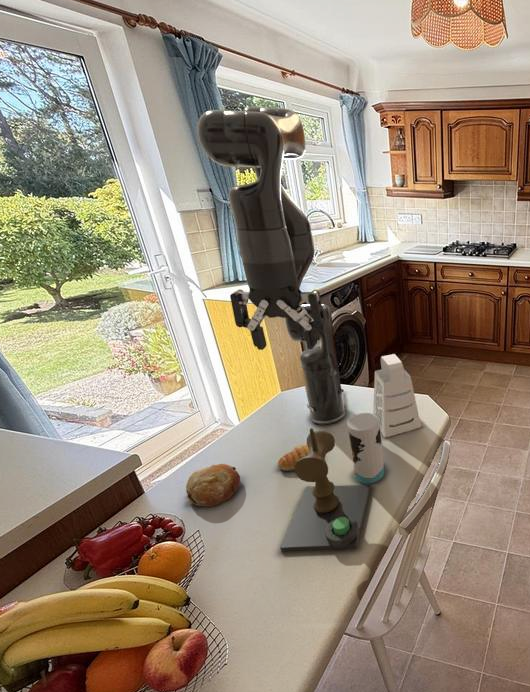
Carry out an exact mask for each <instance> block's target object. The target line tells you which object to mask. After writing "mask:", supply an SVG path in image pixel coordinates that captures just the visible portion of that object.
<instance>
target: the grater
mask: <svg viewBox="0 0 530 692" xmlns="http://www.w3.org/2000/svg"><path fill="white" fill-rule="evenodd" d="M380 367H381V369H377V370H375V371H374V383H373V408H372V414H374V415H376V416H377V417H378V418H379V425H380V433H381V434H382V436H383V437H384V438H388V437H391V436H395V435H398V434H402V433H405V432H409V431H412V430H415V429H419V428H421V427H422V424H421V419H420V414H419V411H418V405H417V400H416V396H415V391H414V385H413V381H412V376H411V375H410V374H409V373H408V372H407V371H406V370H405V368H404V365H403V362H402V360H401V359H400V358H399V357H398V356H397V355H396V353H392V354H388V355H382V356H380ZM409 421H410V422H409ZM405 422H407V423H405ZM402 423H404V424H402ZM395 425H397V426H395ZM392 426H394V427H392Z"/></svg>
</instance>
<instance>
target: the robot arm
mask: <svg viewBox="0 0 530 692" xmlns="http://www.w3.org/2000/svg"><path fill="white" fill-rule="evenodd" d="M196 132H197V138H198V142H199V145H200V147H201V148H202V150H203V151H204V153H205V154H206V155H207V156H208V158H209V159H210V160H211V161H212V162H214V163H215V164H218V165H219V166H222V167H230V168H253V170H254V173H255V178H256V181H254V182H250V183H246V184H245V183H244V184H240V185H236V186H233V187H231V188H230V189H229V191H228V199H229V205H230V208H231V213H232V217H233V222H234V225H235V230H236V237H237V239H236V240H237V245H238V250H239V251H238V252H239V256H240V258H241V262H242V266H243V271H244V275H245V279H246V282H247V287H248V288H249V291H245V290H243V289H237V290H235V291H233V292H232V293H231V294H230V297H229V298H230V303H231V308H232V312H233V313H232V314H233V317H234V324H235V326H236V327H237V328H246V329H247V330H248V331H249V332H250V336H251V341H252V342H253V346H254V347H256V348H257V350H258V351H263V350H264V349H265V348H266V347H267V339H266V335H265V331H264V327H263V326H261V324H262V322H263V321H264V319H265V318H266V317H268V318H269V319H270V318H271V319H274V318H283V319H284V323H285V329H286V332H287V334H288V337H289V338H290V339H291V341H293V342H305V344H306V348H307V349H305V350H303V351H302V352H301V353H300V354H299V362H300V363H299V364H300V368H301V374H302V378H303V379H302V380H303V384H304V388H305V393H306V398H307V403H308V404H306V407H307V409H308V410H309V414H310V416H309V417H310V420H311V422H312V423H314V424H316V425H331V424H335V423H338V422H339V421H341V420H342V419H343V418H345V416H346V409H345V405H344V404H345V403H344V397H343V393H344V392H345V390H344V389H342V384H341V379H340V378H341V377H340V371H339V363H338V358H337V351H336V344H335V336H334V335H335V334H334V325H333V316H332V312H331V309H330V307H329V306H328V305H327V304H323V303H322V298H321V294H320V290H318V289H313V290H312V291H302V290H301V289H300V288H301V285H302V282H303V280H304V278H305V276H306V274H307V272H308V270H309V268H310V266H311V264H312V262H313V259H314V257H315V244H314V237H313V233H312V226H311V222H310V220H309V219H308V218H307V216H306V214H305V213H304V212H303V210H302V209H301V208H300V207H299V206H298V205H297V203H296V202H295V201H294V200H293V198H292V197H291V196H290V195H289V194H288V193H287V191H286V190H285V188H284V186H283V185H282V184H281V183H282V182H281V179H282V168H283V160H297V159H300V158H303V156H304V154H305V152H306V136H305V129H304V125H303V122H302V120H301V118H300V116H299V115H298V114H297V113H296V112H295V111H293V110H291V109H288V108H283V107H264V106H247V107H244V109H243V110H225V109H209V110H206V111H205V112H203V113H202V114H201V115H200V117H199V119H198V122H197V127H196ZM303 300H304V302H305V303H306V304H301V303H302V301H303ZM249 301H250V303H252V304H253V305H254V306H255V307H256V310H255V311H254V313H253V314H252V316H251V318H250V317H249V310H248V305H247V304H248V303H249ZM318 342H319V343H318Z"/></svg>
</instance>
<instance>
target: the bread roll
mask: <svg viewBox="0 0 530 692" xmlns="http://www.w3.org/2000/svg"><path fill="white" fill-rule="evenodd" d="M236 469H237V468H236V467H235V466H233V465H229V464H226V463H219V464H212V465H210V466H207V467H205V468H201V469H197V470H195V471H194V472H193V473H192V474H190V475H189V477H188V479H187V482H186V486H185V492H186V495H187V498H188V500H189V505H195V506H199V507H206V508H207V507H208V508H209V507H215V506H217V505H220V504H222V503H224V502H226V501H227V500H229V499H230V498H231V497H233V495H234V494H235V493H236V492H237V490H238V489H239V487H240V484H241V475H240V473H239V472H238V471H237V470H236Z"/></svg>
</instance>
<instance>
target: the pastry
mask: <svg viewBox="0 0 530 692" xmlns="http://www.w3.org/2000/svg"><path fill="white" fill-rule="evenodd" d="M308 451H309V449H308V446H307V443H305V444H302V445H298V446H295V447H294V448H293V449H292V450H291V451H289V452H287V453H285V454H284V455H283V456H281V457H280V458H279V459H278V463H277V466H278V469H280V470H282V471H287V472H289V471H295V464H296V462H297V461H298V460H299V459H301V458H303V457H306V456H307V454H308Z"/></svg>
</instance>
